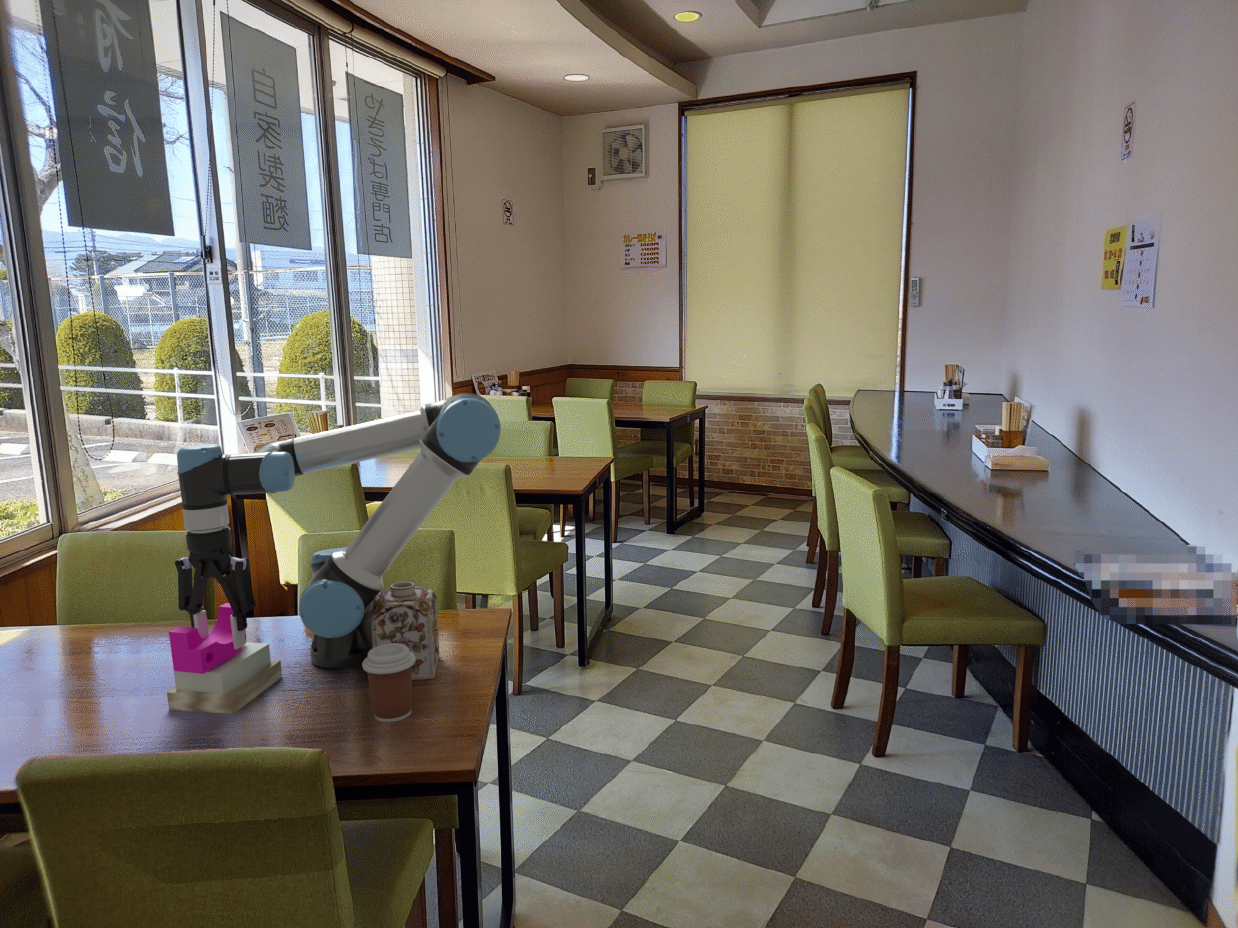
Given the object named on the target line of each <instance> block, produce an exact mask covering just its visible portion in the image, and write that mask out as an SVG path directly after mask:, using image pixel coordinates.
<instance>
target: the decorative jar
mask: <svg viewBox="0 0 1238 928" xmlns="http://www.w3.org/2000/svg"><path fill="white" fill-rule="evenodd" d="M437 598H438V597H436V593H435V592H434V590H432V589H429V588H426V587H422V586H418V585H417V586H415V582H412V581H399V582H395V583H392V584H390V588H389V589H385V590H381V591H380V592H379V593H378V595H377V596H376V597H375V599H374V600H373V605H372V607H373V608H372V612H371V618H370V619H371V627H372V645H373V648H374V647H377V646H380V645H384V644H391V643H398V644H403V645H406V646H407V647H408V648H409V651H410V652H412V653H413V654H414V655H415V657H416V661H415V663H414V665H412V681H420V680H421V681H424V680H434V679H435V677H436V672H437V667H438V663H439V658H440V641H439V637H440V636H439V621H438V620H439V619H438V609H437V607H438V606H437Z"/></svg>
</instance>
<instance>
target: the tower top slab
mask: <svg viewBox="0 0 1238 928" xmlns="http://www.w3.org/2000/svg"><path fill="white" fill-rule="evenodd" d="M241 649H242V651H241V652H239V653H237V654H236V655H234V656H232V657H231V658H229V659H227V660H226V661H224V662H222V663H221V664H219V665H217V666H216V667H214V668H212V669H211V670H209V671H207V672H206V673H204V674H199V673H189V672H179V671H174V670H173V675H174V683H175V685H174V686H175V687H176V690H184V691H196V692H208V693H219V694H224V693H225V692H227V691H228V690H230V689H232V688H233V687H235V686H236V685H238V684H239V683H241V682H242V681H244V680H245V679H247V678H249V677H250V676H252V675H253V674H255V673H256V672H258V671H259V670H261V669H262V668H264V667H266V666H267V665H269V664H270V663H271V660H272V658H271V649H270V644H269V643H264V642H263V643H262V642H261V643H260V642H248V641H246V644H245V645H243V646H242V647H241Z"/></svg>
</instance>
